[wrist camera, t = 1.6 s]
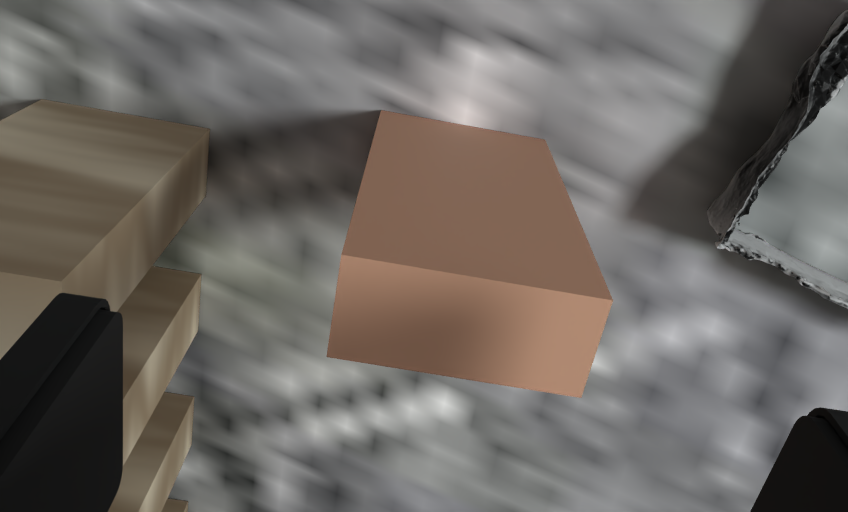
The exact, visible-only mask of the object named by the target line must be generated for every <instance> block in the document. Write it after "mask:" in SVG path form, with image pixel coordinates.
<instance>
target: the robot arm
mask: <svg viewBox="0 0 848 512" xmlns="http://www.w3.org/2000/svg"><path fill="white" fill-rule="evenodd" d="M122 472H123V318H122V315H121V313H120V312H114V311H110V306H109V303H108V301H107V300H106V299H102V298H95V297H89V296H82V295H75V294H69V293H59V294H58V295H57V296H56V297H55V298H54V299H53V300H52V301H51V302H50V303H49V305H48V306H47V307H46V308H45V309H44V310H43V311H42V313H41V314H40V315H39V316H38V317H37V318H36V319H35V321H34V322H33V323H32V324H31V325H30V326H29V327H28V329H27V330H26V331H25V332H24V333H23V334H22V335H21V337H20V338H19V339H18V340H17V341H16V342H15V343H14V344H13V346H12V347H11V348H10V349H9V350H8V351H7V352H6V354H5V355H4V356H3V357H2V358H1V359H0V512H108V510H109V508H110V506H111V504H112V502H113V500H114V498H115V496H116V494H117V492H118V489H119V486H120V482H121V478H122ZM750 512H848V412H846V411H840V410H833V409H827V408H815V409H814V410H812V411H811V412H809V414H808V415H807V416H802V417H800V418H799V419H798V420H797V421H796V423H795V424H794V426H793V428H792V430H791V432H790V434H789V436H788V438H787V440H786V442H785V444H784V446H783V448H782V450H781V452H780V454H779V456H778V458H777V460H776V462H775V464H774V466H773V468H772V470H771V472H770V474H769V476H768V478H767V480H766V482H765V484H764V486H763V488H762V490H761V492H760V494H759V496H758V498H757V500H756V502H755V504H754V506H753V507H752V509H751V511H750Z"/></svg>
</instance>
